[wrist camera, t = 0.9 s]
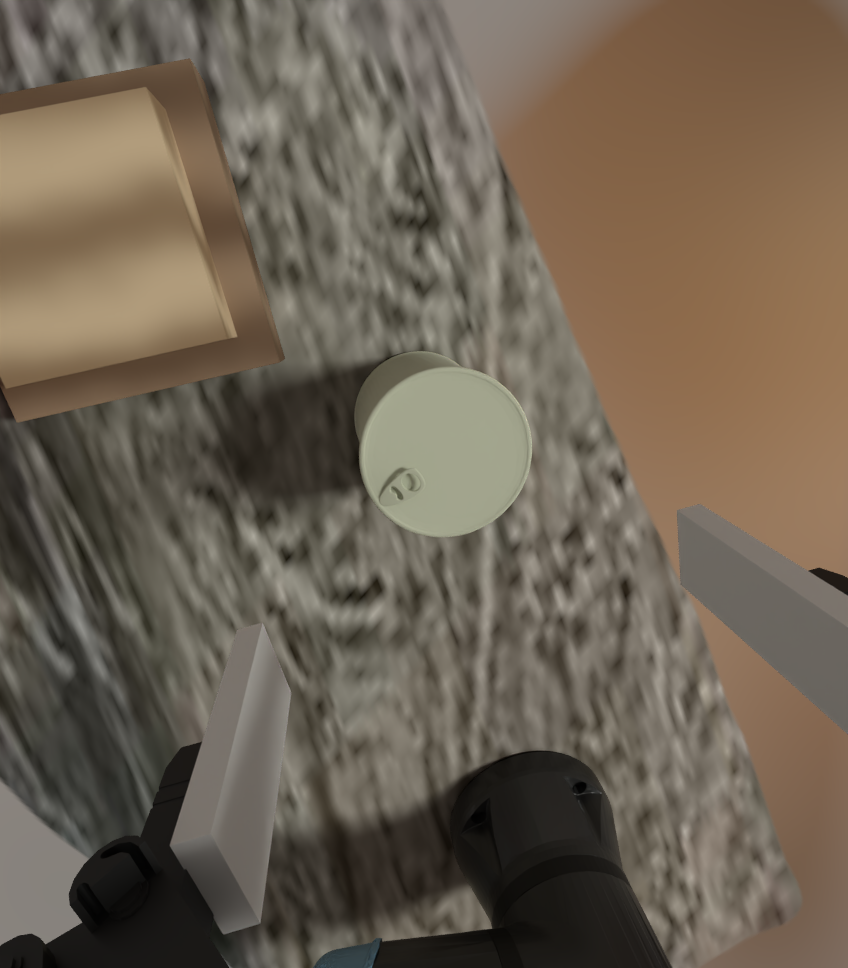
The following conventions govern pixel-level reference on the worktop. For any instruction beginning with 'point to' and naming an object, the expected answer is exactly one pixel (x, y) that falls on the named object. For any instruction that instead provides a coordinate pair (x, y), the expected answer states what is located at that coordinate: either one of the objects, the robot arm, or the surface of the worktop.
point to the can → (440, 444)
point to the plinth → (220, 233)
